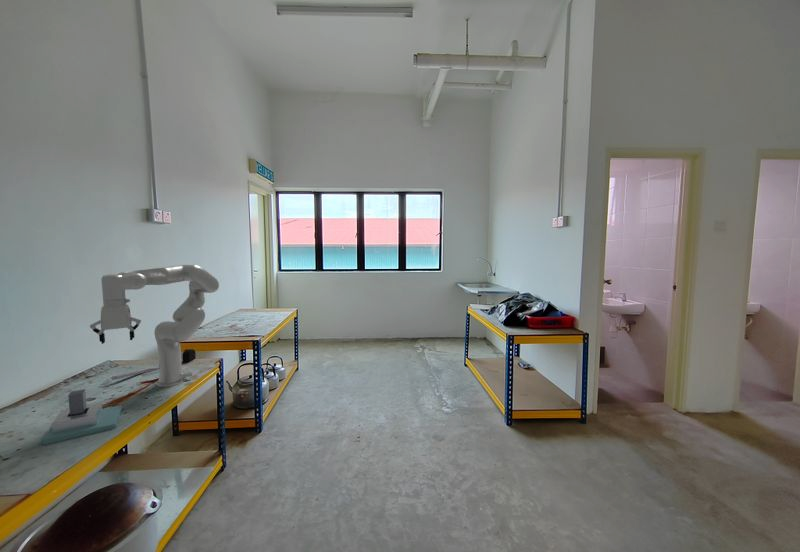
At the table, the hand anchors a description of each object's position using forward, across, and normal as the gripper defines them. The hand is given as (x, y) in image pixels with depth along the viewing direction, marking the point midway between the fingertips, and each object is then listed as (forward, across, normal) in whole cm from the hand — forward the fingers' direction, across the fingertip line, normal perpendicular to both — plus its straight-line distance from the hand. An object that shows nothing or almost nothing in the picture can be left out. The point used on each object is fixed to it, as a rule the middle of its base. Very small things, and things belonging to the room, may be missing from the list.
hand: (117, 341), depth 149 cm
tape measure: (+29, -28, -49) cm, 63 cm away
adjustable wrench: (+28, +7, -26) cm, 39 cm away
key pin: (+26, +11, +17) cm, 33 cm away
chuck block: (+28, +9, +17) cm, 34 cm away
